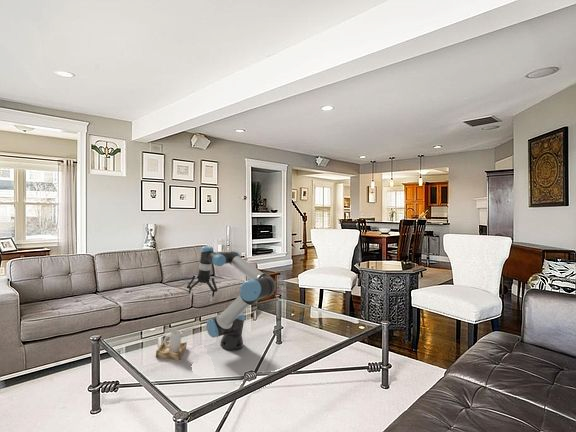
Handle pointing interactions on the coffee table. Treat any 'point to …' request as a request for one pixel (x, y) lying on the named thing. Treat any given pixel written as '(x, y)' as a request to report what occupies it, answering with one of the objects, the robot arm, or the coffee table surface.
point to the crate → (165, 353)
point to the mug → (174, 341)
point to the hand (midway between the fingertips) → (200, 299)
